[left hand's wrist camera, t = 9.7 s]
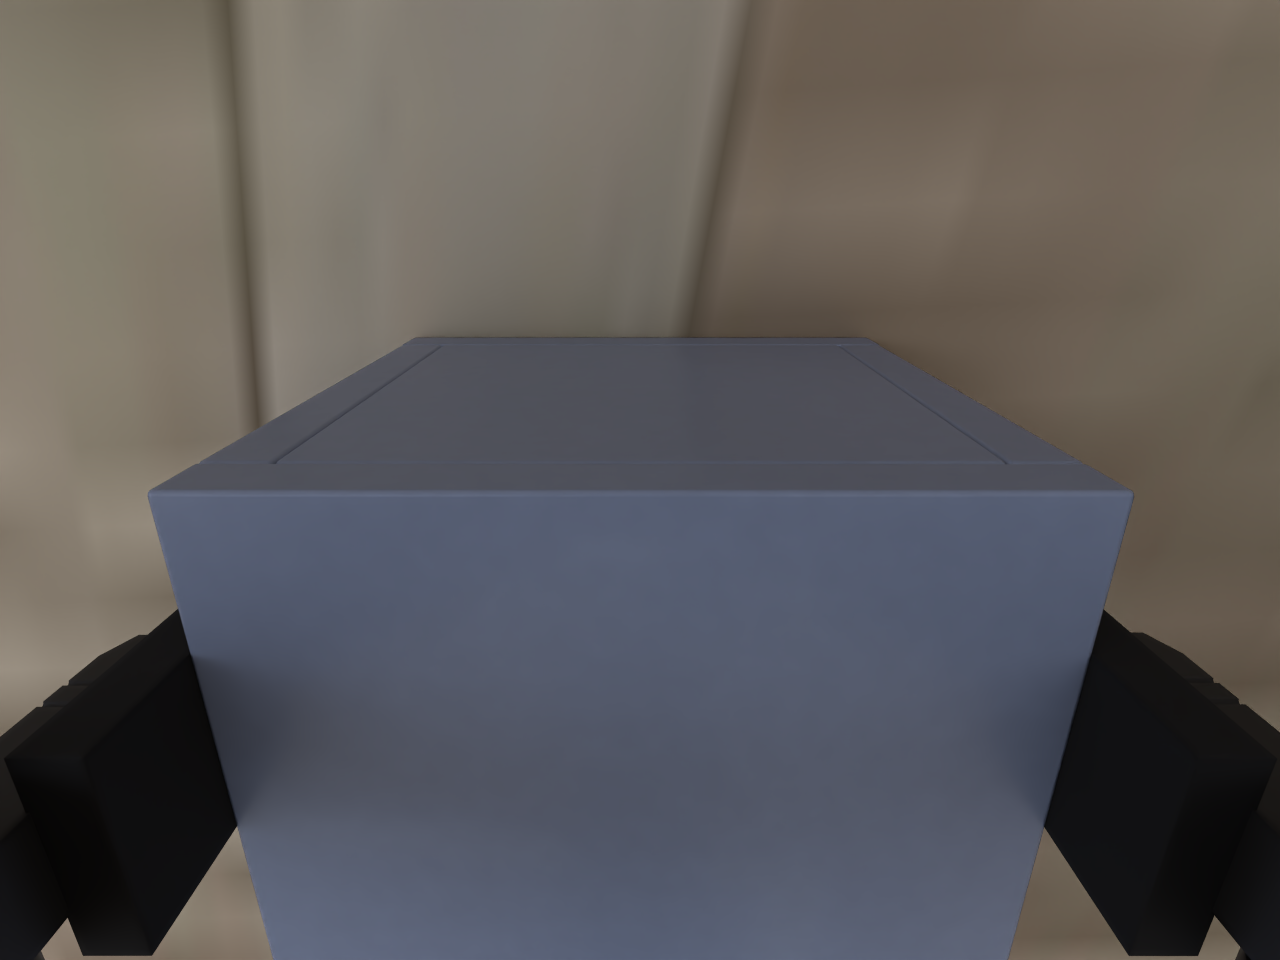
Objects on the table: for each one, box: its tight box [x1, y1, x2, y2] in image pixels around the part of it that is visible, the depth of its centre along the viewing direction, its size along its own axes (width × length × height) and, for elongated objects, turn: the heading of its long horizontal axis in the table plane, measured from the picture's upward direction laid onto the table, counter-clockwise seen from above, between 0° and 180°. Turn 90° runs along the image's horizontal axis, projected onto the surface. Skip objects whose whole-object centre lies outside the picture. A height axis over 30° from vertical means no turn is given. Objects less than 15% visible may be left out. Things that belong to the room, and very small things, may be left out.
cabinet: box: [148, 338, 1134, 960], centre depth 15 cm, size 16×11×10 cm
